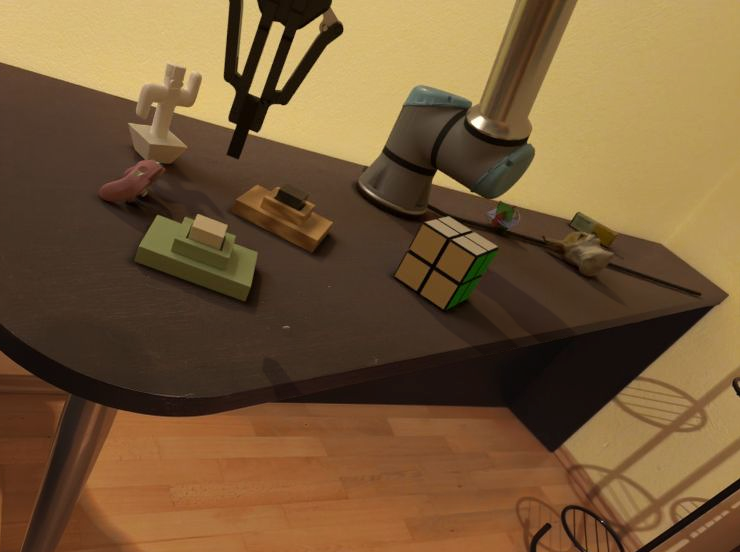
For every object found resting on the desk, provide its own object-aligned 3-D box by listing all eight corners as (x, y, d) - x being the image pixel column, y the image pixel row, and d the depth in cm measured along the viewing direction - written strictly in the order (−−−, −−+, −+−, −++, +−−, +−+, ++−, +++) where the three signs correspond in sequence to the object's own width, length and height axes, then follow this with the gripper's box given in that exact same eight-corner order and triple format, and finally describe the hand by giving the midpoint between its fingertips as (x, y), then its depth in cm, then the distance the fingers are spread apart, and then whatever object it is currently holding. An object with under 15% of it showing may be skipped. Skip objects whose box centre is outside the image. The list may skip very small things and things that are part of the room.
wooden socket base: (327, 234, 105) (337, 212, 103) (312, 253, 97) (322, 230, 95) (252, 196, 106) (261, 174, 104) (231, 212, 98) (239, 188, 96)
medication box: (567, 225, 175) (575, 212, 172) (571, 223, 176) (579, 210, 174) (607, 247, 169) (616, 234, 167) (610, 246, 171) (619, 233, 169)
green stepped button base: (252, 266, 86) (263, 240, 84) (244, 302, 78) (256, 274, 75) (153, 229, 84) (161, 202, 82) (134, 261, 76) (142, 232, 74)
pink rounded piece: (118, 220, 86) (152, 187, 83) (94, 193, 85) (126, 160, 81) (145, 198, 94) (176, 168, 91) (122, 174, 93) (153, 142, 90)
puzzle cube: (418, 266, 108) (447, 214, 103) (467, 299, 105) (500, 247, 99) (391, 276, 101) (422, 221, 95) (443, 312, 97) (478, 256, 92)
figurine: (116, 143, 103) (138, 48, 95) (165, 148, 109) (190, 60, 101) (137, 165, 99) (162, 68, 91) (187, 168, 105) (215, 78, 97)
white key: (223, 239, 81) (228, 225, 80) (218, 252, 78) (223, 237, 76) (193, 227, 80) (197, 213, 79) (187, 240, 77) (192, 225, 76)
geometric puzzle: (500, 230, 137) (527, 204, 137) (476, 213, 140) (502, 188, 140) (502, 246, 143) (527, 222, 143) (479, 230, 147) (504, 206, 146)
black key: (304, 205, 101) (309, 194, 100) (297, 212, 98) (302, 200, 97) (281, 194, 101) (286, 183, 100) (274, 200, 98) (278, 188, 97)
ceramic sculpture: (603, 243, 132) (554, 212, 143) (580, 279, 136) (533, 246, 147) (633, 250, 137) (583, 220, 148) (609, 285, 142) (562, 252, 152)
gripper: (246, -112, 56) (172, 140, 69) (380, -49, 58) (285, 185, 70) (254, -107, 62) (185, 123, 75) (374, -50, 64) (288, 165, 77)
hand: (233, 153), depth 73 cm, fingers closed
